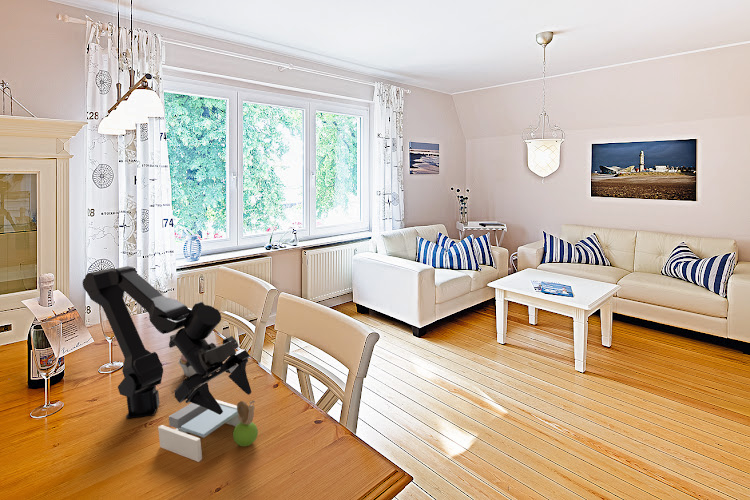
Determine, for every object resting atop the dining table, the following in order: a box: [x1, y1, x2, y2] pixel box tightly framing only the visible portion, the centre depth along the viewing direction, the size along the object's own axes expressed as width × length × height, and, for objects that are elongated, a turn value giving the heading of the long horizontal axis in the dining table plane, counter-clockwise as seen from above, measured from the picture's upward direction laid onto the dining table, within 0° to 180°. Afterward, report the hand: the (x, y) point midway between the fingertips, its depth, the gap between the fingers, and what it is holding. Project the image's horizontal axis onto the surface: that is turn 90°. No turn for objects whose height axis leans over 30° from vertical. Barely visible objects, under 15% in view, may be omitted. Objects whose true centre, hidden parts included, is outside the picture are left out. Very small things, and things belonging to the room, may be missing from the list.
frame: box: [157, 398, 240, 463], centre depth 102 cm, size 14×12×5 cm
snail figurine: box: [232, 400, 259, 447], centre depth 98 cm, size 5×6×12 cm
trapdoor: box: [168, 402, 238, 438], centre depth 101 cm, size 11×12×2 cm
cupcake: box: [178, 353, 196, 378], centre depth 134 cm, size 9×9×10 cm
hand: (236, 403), depth 98 cm, fingers open, 9 cm apart
